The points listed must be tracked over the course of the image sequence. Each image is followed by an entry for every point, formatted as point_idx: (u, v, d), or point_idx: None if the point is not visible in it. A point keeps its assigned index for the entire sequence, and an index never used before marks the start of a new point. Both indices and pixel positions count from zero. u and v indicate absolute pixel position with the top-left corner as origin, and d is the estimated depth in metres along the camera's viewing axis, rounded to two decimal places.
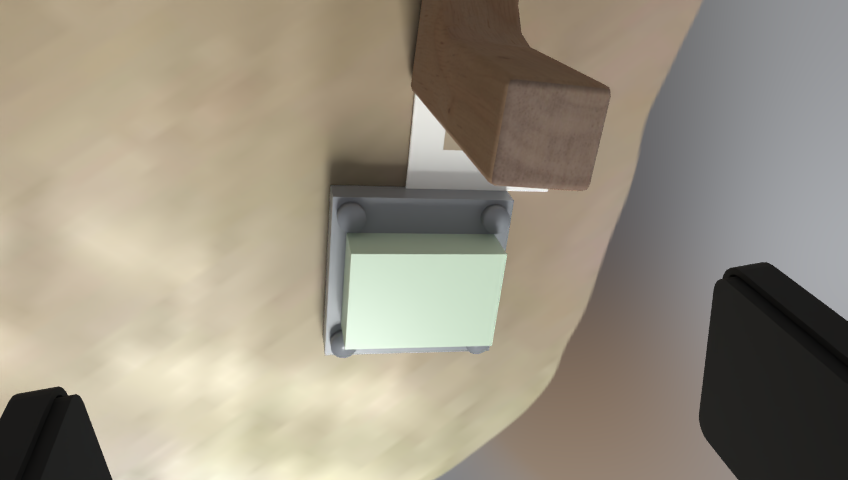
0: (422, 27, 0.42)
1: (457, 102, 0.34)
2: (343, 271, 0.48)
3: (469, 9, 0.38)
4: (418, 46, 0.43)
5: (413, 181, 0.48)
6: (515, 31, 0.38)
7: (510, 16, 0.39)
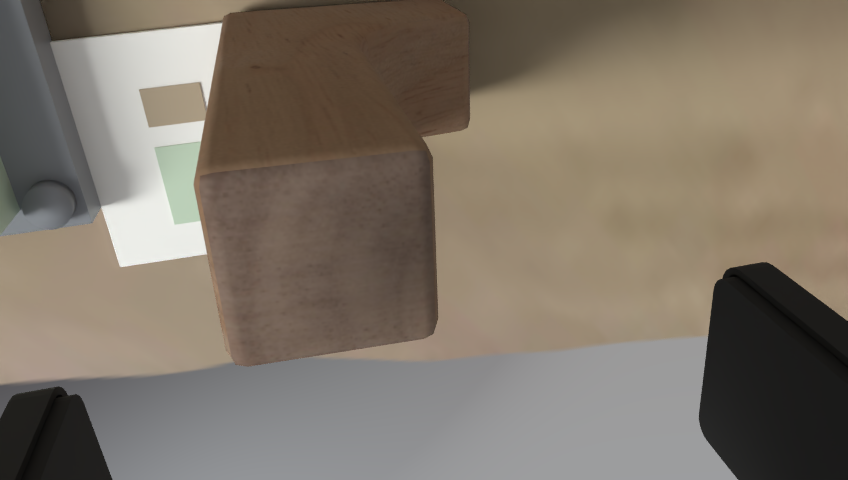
0: (326, 10, 0.28)
1: (283, 75, 0.19)
2: None
3: (388, 69, 0.25)
4: (295, 11, 0.28)
5: (67, 52, 0.28)
6: None
7: None
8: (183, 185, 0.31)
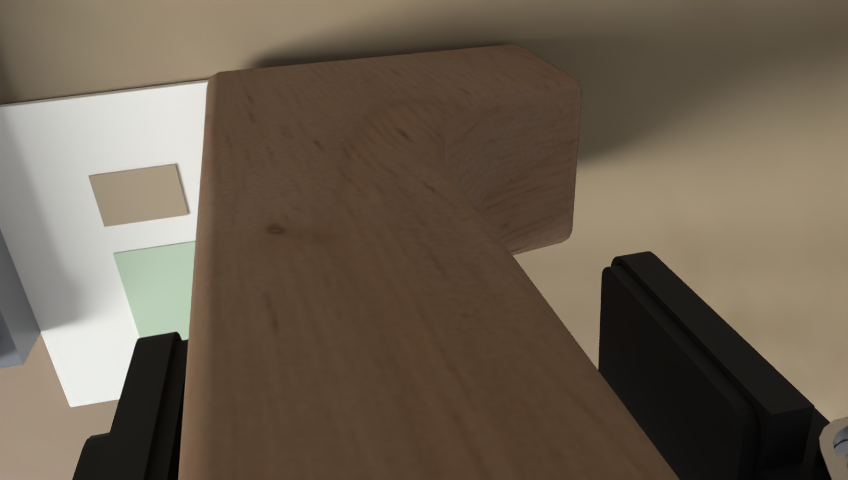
0: (362, 69, 0.19)
1: (332, 260, 0.10)
2: None
3: (468, 171, 0.16)
4: (315, 69, 0.19)
5: None
6: None
7: None
8: (155, 301, 0.23)
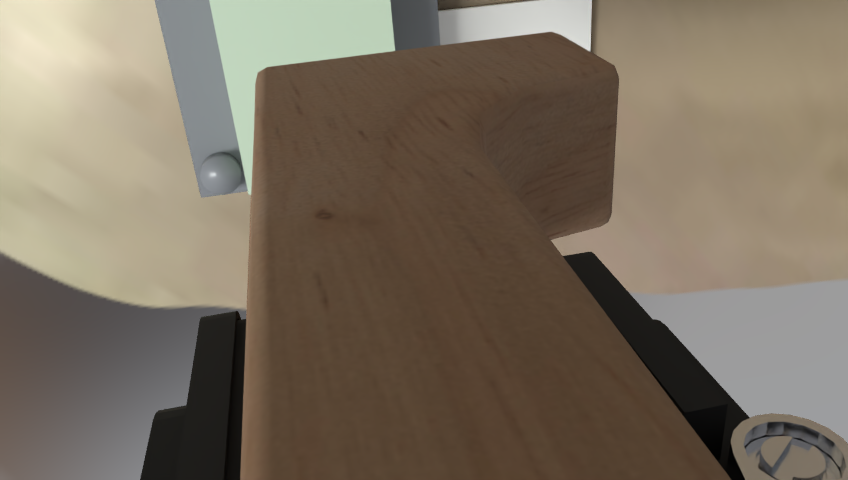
0: (403, 60, 0.19)
1: (377, 242, 0.10)
2: None
3: (508, 158, 0.17)
4: (358, 61, 0.20)
5: (442, 20, 0.34)
6: None
7: None
8: None
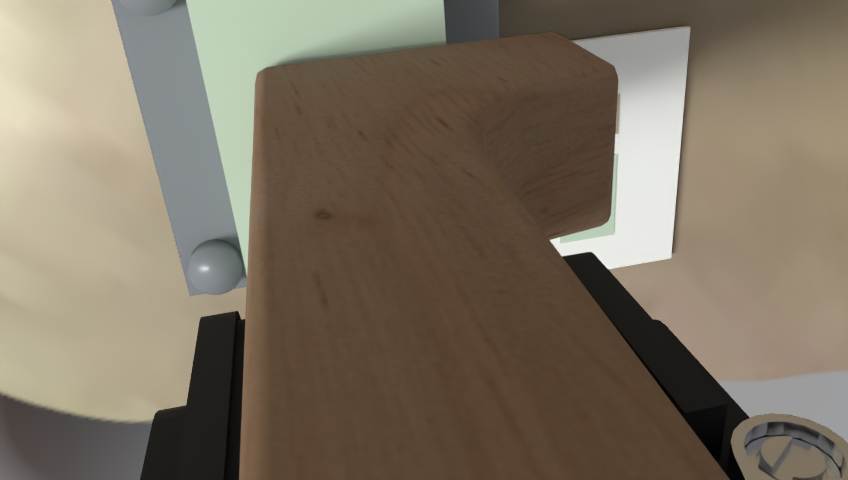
0: (403, 60, 0.19)
1: (377, 242, 0.10)
2: None
3: (507, 158, 0.17)
4: (358, 62, 0.20)
5: None
6: None
7: None
8: None
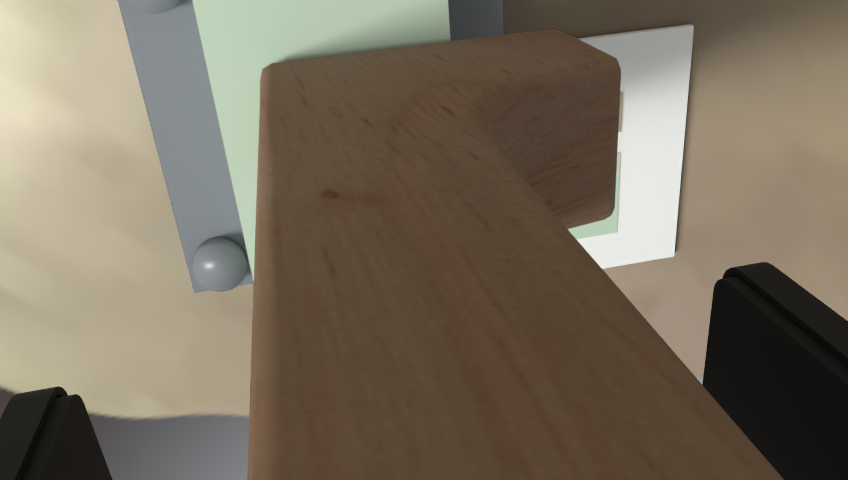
0: (407, 55, 0.19)
1: (384, 218, 0.11)
2: None
3: (511, 148, 0.17)
4: (362, 57, 0.20)
5: None
6: None
7: None
8: None
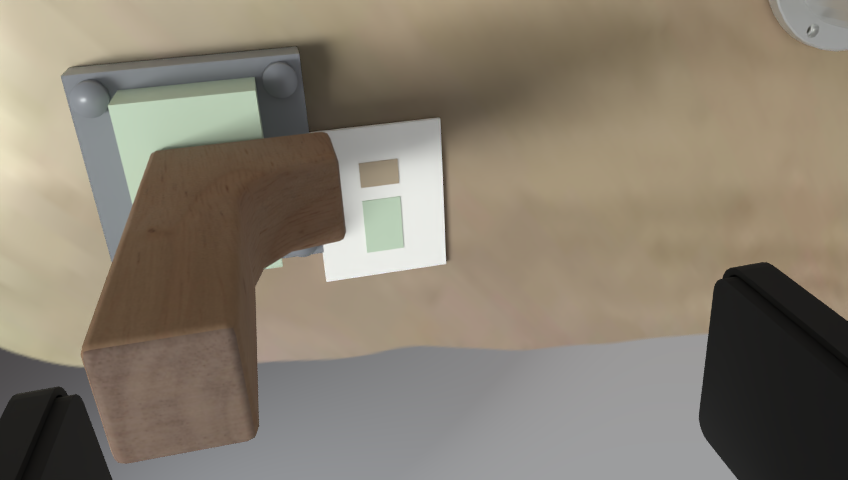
0: (230, 149, 0.35)
1: (168, 241, 0.26)
2: (200, 81, 0.38)
3: (271, 204, 0.33)
4: (206, 149, 0.36)
5: None
6: (263, 263, 0.33)
7: (277, 250, 0.34)
8: (376, 226, 0.46)
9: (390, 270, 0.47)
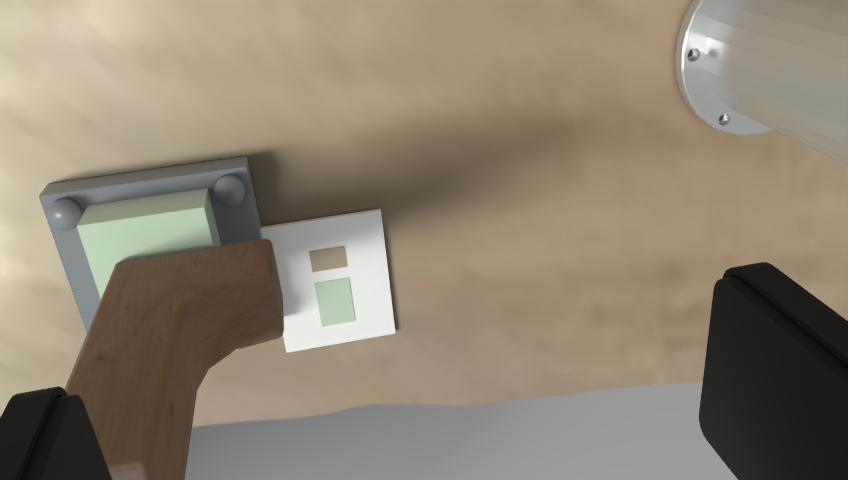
0: (182, 260, 0.41)
1: (110, 370, 0.32)
2: (160, 194, 0.43)
3: (213, 315, 0.38)
4: (162, 259, 0.41)
5: (270, 233, 0.48)
6: (207, 364, 0.38)
7: (220, 351, 0.39)
8: (329, 303, 0.51)
9: (344, 340, 0.53)
